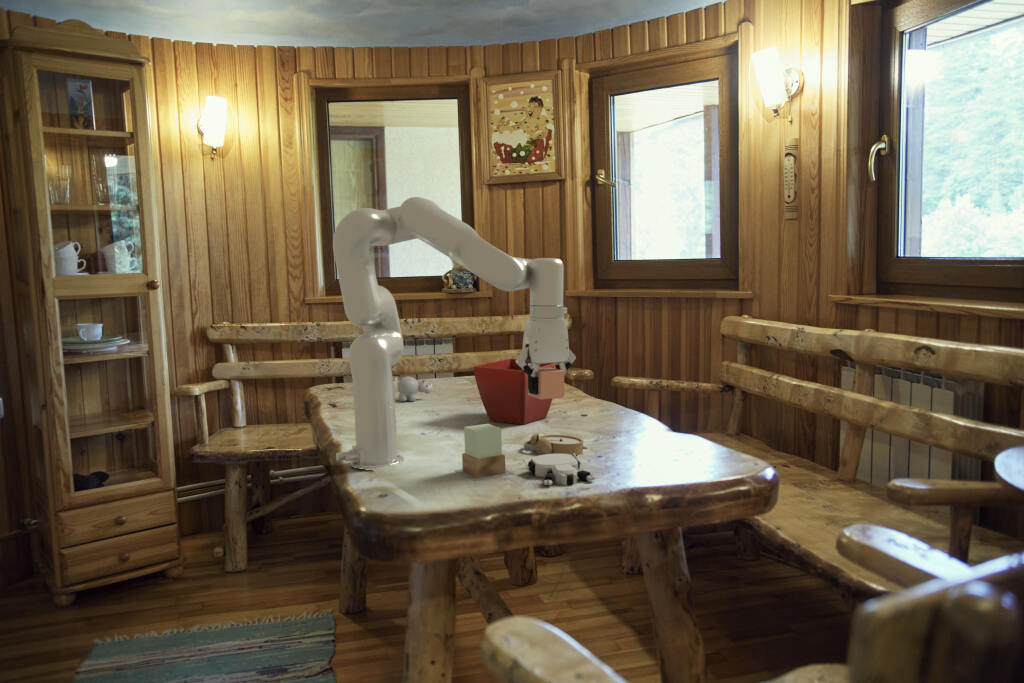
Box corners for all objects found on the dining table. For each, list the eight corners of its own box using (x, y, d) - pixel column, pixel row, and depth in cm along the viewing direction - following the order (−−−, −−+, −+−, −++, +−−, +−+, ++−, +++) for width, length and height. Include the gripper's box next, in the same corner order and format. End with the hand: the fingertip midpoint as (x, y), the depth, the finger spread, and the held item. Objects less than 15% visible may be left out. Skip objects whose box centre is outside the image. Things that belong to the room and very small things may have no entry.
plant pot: (524, 428, 223) (523, 369, 221) (473, 421, 235) (471, 365, 233) (562, 417, 238) (561, 362, 236) (511, 411, 250) (510, 358, 248)
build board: (474, 485, 168) (474, 480, 168) (453, 475, 176) (453, 470, 176) (514, 478, 173) (514, 473, 172) (493, 468, 181) (492, 464, 181)
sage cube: (477, 459, 170) (476, 431, 169) (465, 453, 175) (464, 427, 174) (501, 455, 173) (501, 428, 172) (488, 449, 178) (488, 423, 177)
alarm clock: (591, 444, 191) (533, 438, 187) (588, 464, 191) (530, 458, 187) (575, 434, 202) (519, 429, 197) (572, 453, 202) (516, 448, 198)
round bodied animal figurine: (433, 401, 271) (432, 376, 270) (398, 403, 269) (397, 378, 268) (431, 397, 278) (431, 373, 277) (397, 399, 276) (396, 375, 275)
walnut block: (477, 478, 170) (476, 459, 169) (462, 471, 176) (462, 453, 175) (505, 473, 173) (505, 455, 173) (490, 466, 179) (489, 449, 179)
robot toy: (598, 491, 165) (573, 468, 179) (599, 471, 164) (573, 449, 178) (543, 497, 161) (521, 474, 175) (543, 476, 160) (521, 454, 175)
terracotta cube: (541, 399, 175) (541, 372, 174) (527, 395, 180) (528, 369, 180) (564, 397, 178) (564, 370, 177) (550, 393, 183) (550, 367, 183)
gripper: (569, 311, 185) (568, 387, 186) (504, 313, 176) (505, 393, 178) (587, 312, 178) (587, 391, 180) (522, 315, 170) (522, 398, 171)
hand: (546, 391), depth 179 cm, fingers closed on terracotta cube, 6 cm apart
